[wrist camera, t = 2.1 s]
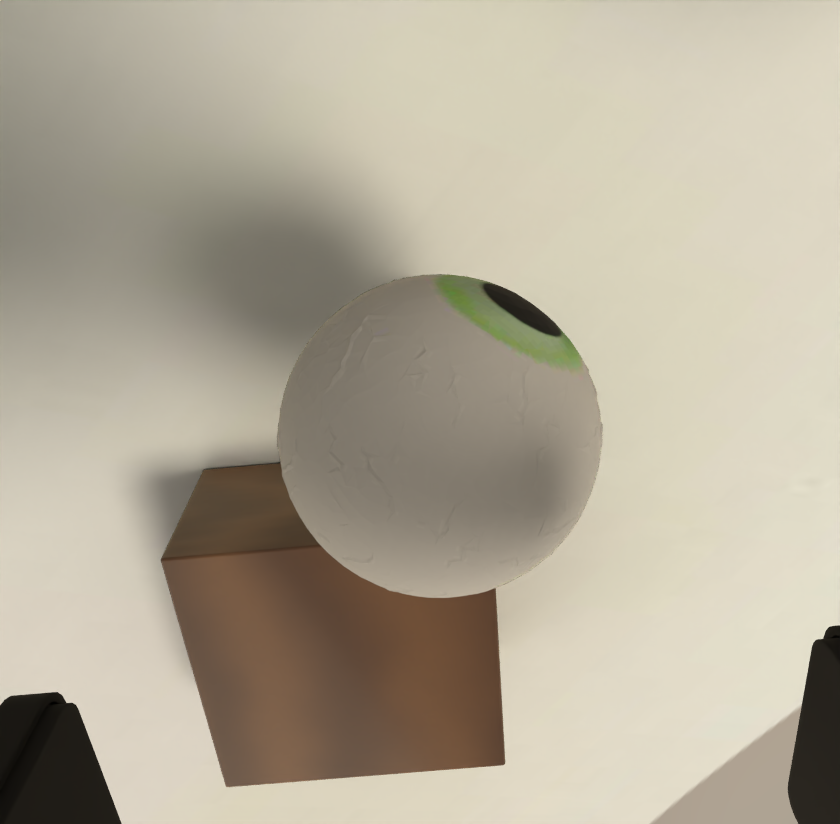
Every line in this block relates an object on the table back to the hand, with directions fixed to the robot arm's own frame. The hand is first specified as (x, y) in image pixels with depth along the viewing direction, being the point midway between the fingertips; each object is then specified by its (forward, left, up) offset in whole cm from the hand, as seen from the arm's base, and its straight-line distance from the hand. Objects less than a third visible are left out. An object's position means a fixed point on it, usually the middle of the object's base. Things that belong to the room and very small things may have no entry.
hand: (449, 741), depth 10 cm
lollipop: (0, 0, -20) cm, 20 cm away
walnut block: (+4, +12, -20) cm, 23 cm away
